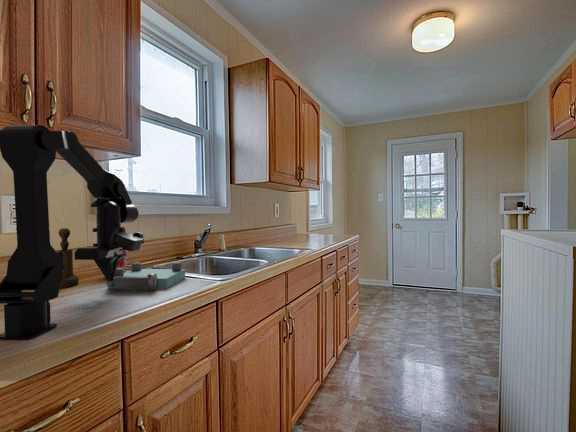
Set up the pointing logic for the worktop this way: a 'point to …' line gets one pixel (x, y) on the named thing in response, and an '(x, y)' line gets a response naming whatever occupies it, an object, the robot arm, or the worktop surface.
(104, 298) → the worktop surface
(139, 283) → the folding leg
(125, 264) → the soda can
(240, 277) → the worktop surface
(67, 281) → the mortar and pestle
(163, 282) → the stool seat
